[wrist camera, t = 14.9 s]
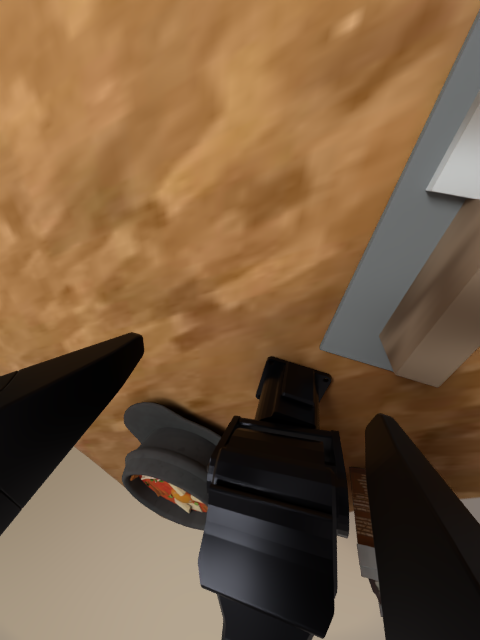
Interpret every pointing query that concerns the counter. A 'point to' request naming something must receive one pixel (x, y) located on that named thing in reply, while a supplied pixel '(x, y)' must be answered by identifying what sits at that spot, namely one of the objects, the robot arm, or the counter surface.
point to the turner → (444, 276)
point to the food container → (364, 530)
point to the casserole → (169, 463)
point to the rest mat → (406, 222)
